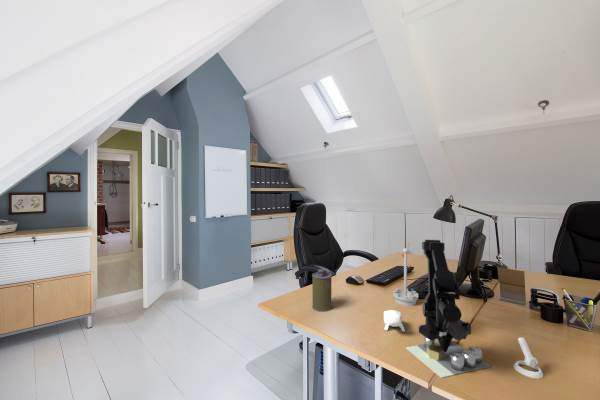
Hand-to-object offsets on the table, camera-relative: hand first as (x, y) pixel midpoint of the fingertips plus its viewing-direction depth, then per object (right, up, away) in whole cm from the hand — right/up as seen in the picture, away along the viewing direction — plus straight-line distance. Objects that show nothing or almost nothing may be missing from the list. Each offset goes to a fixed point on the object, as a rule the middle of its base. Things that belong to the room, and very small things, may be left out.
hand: (444, 351), depth 101 cm
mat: (-1, -2, -1) cm, 2 cm away
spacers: (+3, -1, 0) cm, 3 cm away
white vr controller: (+23, -2, -9) cm, 25 cm away
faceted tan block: (-4, -1, -1) cm, 4 cm away
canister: (-42, -1, +43) cm, 60 cm away
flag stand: (+5, -1, +50) cm, 51 cm away
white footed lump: (-12, -1, +21) cm, 24 cm away
